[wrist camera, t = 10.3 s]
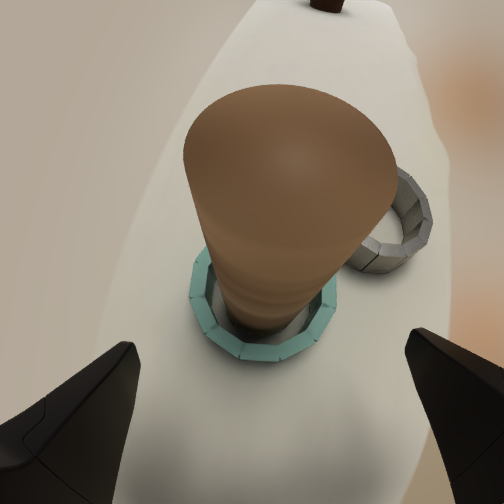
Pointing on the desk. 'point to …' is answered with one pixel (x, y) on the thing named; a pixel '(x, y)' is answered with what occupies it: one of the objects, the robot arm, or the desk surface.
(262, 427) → the desk surface
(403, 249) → the stand collar
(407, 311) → the desk surface
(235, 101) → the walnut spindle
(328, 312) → the teal collar socket
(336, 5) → the coffee mug
